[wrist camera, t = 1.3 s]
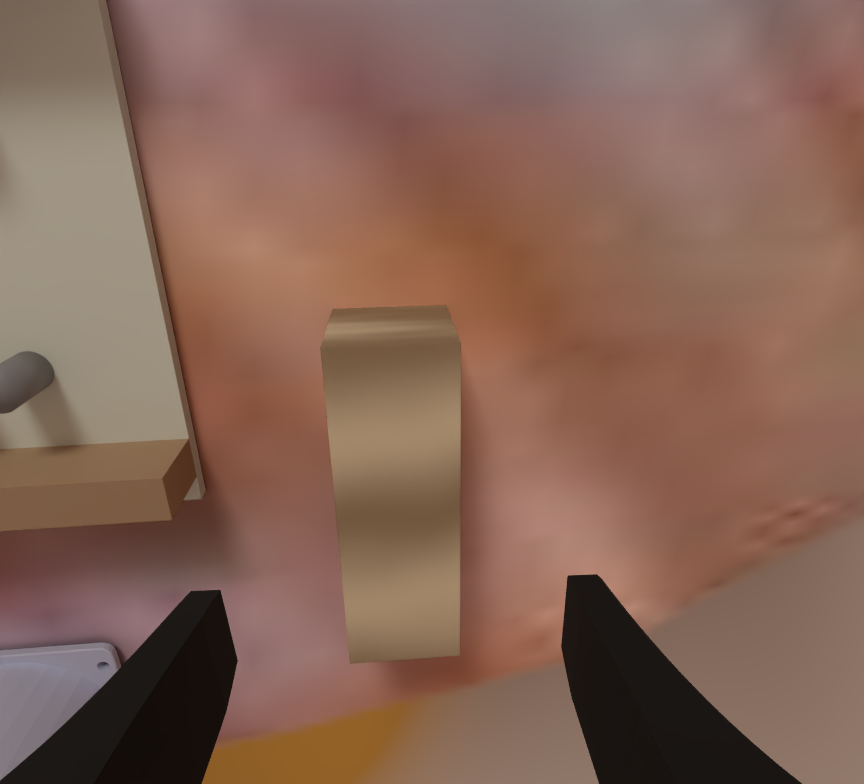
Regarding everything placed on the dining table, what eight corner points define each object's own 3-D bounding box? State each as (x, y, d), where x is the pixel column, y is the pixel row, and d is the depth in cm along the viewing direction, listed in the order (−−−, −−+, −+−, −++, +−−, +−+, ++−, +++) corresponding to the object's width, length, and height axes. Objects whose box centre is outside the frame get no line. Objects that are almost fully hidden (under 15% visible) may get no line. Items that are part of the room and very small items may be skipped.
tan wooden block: (447, 572, 26) (459, 655, 21) (355, 577, 25) (350, 663, 21) (445, 303, 21) (460, 342, 17) (333, 307, 21) (320, 348, 17)
